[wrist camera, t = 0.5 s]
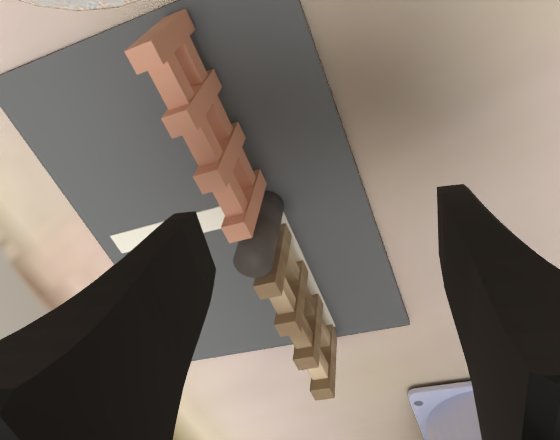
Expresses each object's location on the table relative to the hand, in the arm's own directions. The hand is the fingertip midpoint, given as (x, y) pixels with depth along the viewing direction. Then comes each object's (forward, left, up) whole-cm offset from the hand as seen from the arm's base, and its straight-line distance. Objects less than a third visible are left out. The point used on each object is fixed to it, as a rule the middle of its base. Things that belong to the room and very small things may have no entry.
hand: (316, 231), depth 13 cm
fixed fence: (-8, +5, -9) cm, 13 cm away
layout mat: (-4, +7, -9) cm, 12 cm away
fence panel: (+1, +5, -9) cm, 10 cm away
